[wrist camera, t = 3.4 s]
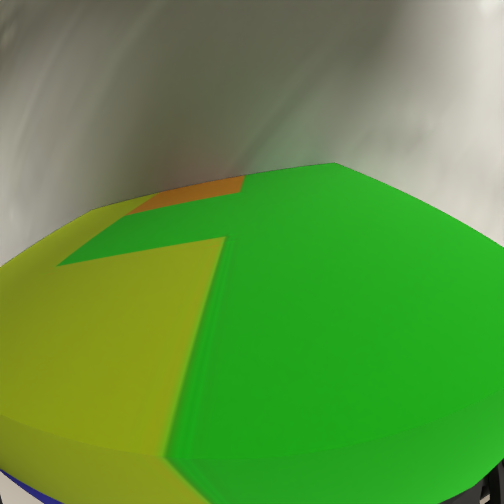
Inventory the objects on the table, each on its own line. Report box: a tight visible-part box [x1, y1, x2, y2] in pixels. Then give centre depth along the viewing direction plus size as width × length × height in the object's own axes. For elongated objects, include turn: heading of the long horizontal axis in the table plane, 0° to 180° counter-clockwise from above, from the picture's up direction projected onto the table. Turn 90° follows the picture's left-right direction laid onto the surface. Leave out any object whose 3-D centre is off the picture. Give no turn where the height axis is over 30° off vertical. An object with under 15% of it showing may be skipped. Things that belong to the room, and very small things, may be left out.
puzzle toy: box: [0, 163, 504, 504], centre depth 8 cm, size 10×10×10 cm
